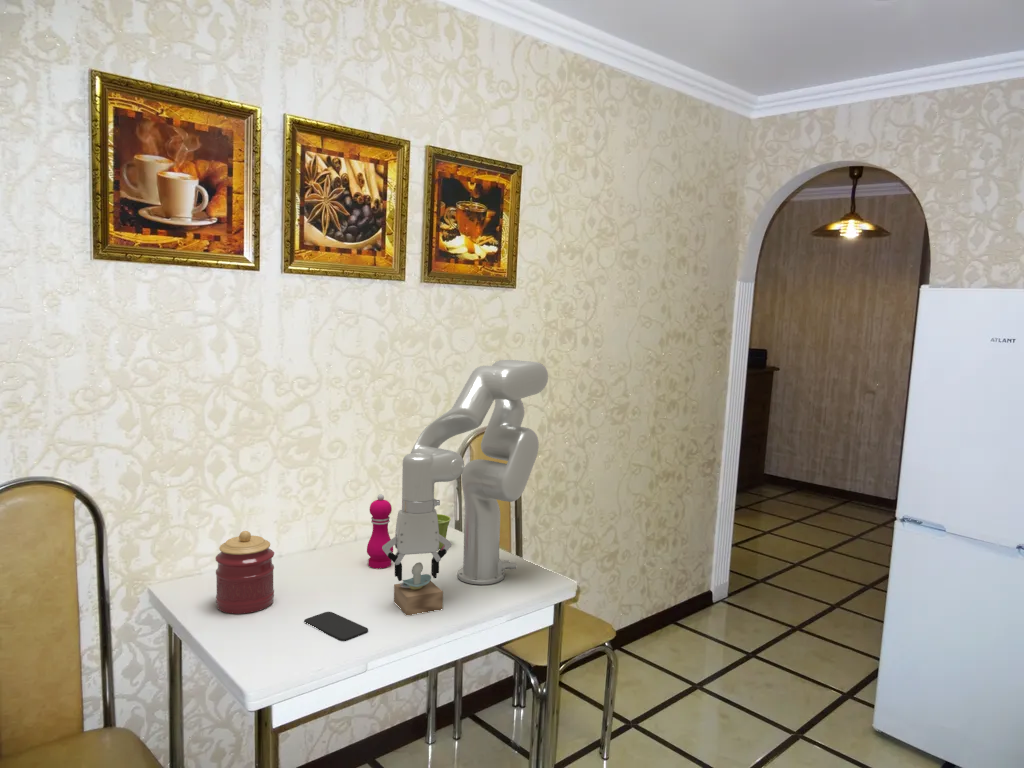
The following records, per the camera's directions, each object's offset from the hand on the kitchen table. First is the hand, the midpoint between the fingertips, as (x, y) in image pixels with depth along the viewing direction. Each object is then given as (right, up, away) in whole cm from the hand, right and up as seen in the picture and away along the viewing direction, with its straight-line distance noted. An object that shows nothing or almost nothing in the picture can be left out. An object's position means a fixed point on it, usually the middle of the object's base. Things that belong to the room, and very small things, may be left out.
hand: (416, 577), depth 172 cm
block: (0, -8, 0) cm, 8 cm away
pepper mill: (-14, -4, +28) cm, 31 cm away
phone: (-16, -8, -12) cm, 22 cm away
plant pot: (-1, -3, +45) cm, 45 cm away
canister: (-40, -6, -1) cm, 41 cm away
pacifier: (-1, -3, +1) cm, 3 cm away
